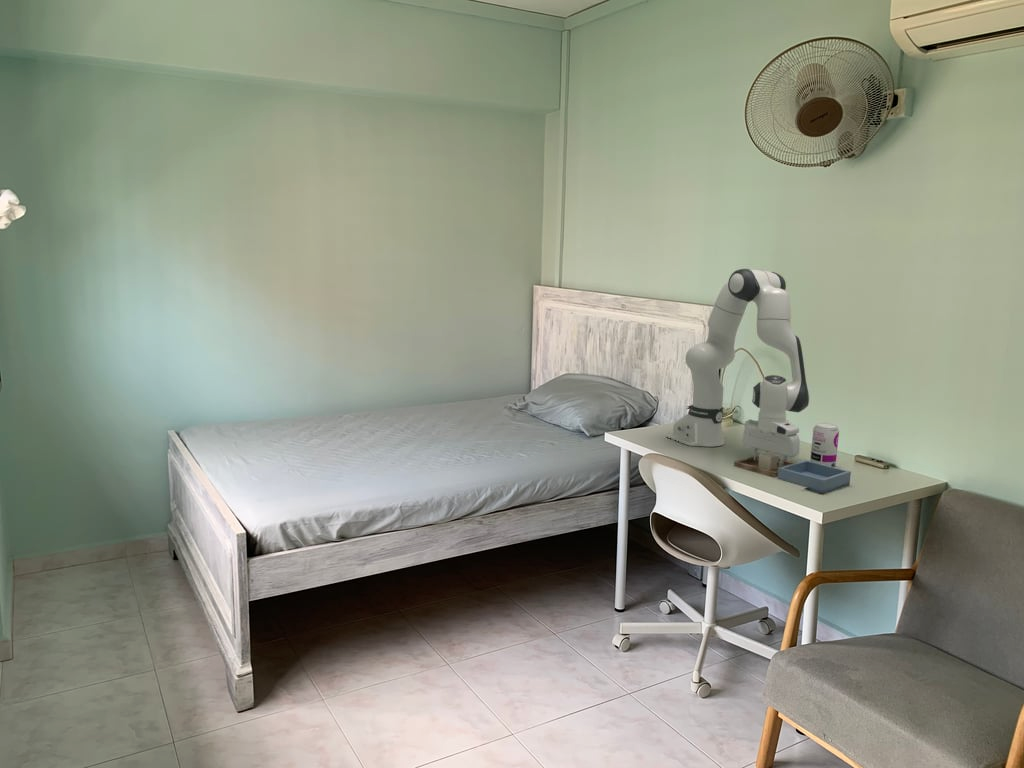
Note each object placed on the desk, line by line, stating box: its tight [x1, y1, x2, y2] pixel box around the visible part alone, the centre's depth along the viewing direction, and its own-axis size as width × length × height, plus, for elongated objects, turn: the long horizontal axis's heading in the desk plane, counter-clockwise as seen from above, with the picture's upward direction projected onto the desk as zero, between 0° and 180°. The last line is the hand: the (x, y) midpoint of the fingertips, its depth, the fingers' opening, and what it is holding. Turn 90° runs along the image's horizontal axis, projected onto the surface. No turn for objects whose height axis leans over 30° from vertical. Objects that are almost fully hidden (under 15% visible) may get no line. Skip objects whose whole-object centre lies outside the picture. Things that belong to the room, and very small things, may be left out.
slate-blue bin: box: [776, 459, 852, 495], centre depth 257 cm, size 16×16×4 cm
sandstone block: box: [758, 451, 780, 470], centre depth 270 cm, size 4×4×4 cm
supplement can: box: [809, 422, 840, 468], centre depth 273 cm, size 8×8×15 cm
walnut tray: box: [733, 456, 795, 479], centre depth 270 cm, size 16×16×2 cm
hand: (768, 463), depth 270 cm, fingers open, 8 cm apart
